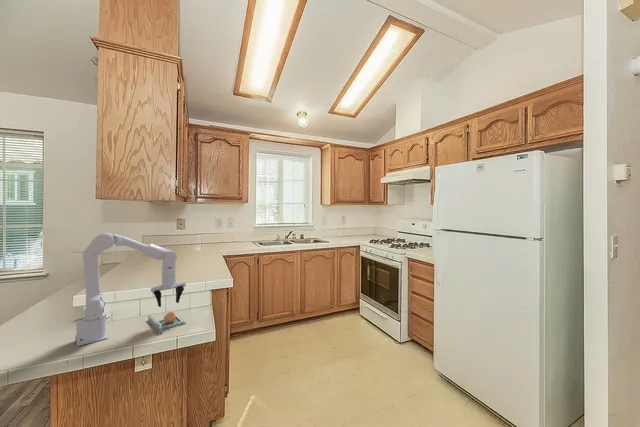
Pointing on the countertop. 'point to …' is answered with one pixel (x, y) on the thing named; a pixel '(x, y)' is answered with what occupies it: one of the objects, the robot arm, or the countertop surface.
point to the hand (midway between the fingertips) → (168, 304)
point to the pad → (177, 322)
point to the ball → (169, 317)
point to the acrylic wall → (155, 324)
